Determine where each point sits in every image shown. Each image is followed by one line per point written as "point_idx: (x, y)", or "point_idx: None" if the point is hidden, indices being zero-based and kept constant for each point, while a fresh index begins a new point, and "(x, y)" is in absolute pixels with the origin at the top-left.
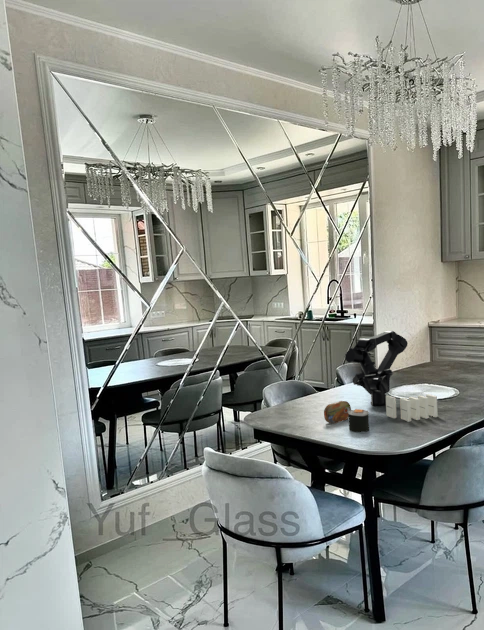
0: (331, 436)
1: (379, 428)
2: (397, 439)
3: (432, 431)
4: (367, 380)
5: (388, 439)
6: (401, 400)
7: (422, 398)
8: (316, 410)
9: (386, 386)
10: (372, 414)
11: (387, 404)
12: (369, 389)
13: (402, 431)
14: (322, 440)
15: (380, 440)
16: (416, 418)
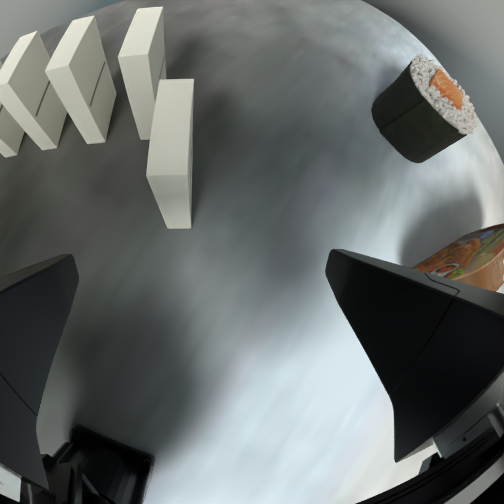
0: (470, 134)
1: (335, 87)
2: (324, 13)
3: (184, 2)
4: (485, 306)
5: (347, 25)
6: (152, 50)
7: (29, 51)
8: (432, 454)
9: (46, 317)
10: (254, 299)
11: (189, 183)
12: (381, 261)
13: (273, 31)
14: (483, 127)
15: (369, 33)
16: (114, 91)
